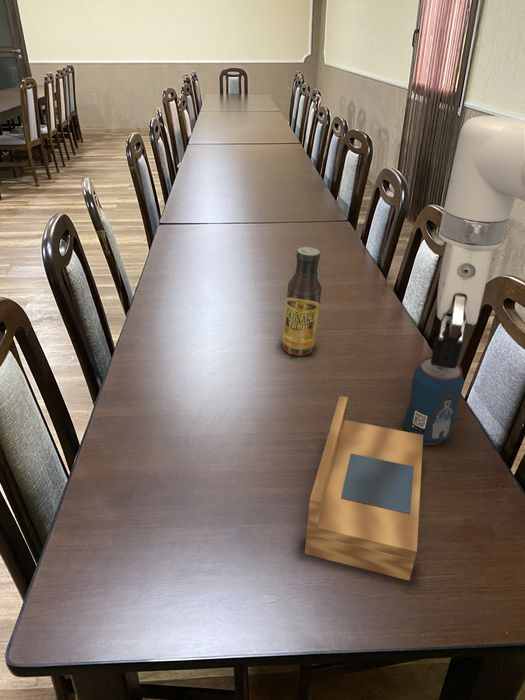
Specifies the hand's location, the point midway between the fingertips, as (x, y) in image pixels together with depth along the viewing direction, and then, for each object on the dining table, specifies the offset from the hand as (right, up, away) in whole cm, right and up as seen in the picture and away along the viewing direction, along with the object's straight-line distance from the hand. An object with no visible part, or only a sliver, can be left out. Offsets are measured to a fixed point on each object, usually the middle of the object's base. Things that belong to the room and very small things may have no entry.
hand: (443, 347), depth 74 cm
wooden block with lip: (-12, -20, -5) cm, 24 cm away
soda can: (0, -13, +8) cm, 15 cm away
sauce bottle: (-18, 0, +28) cm, 33 cm away
